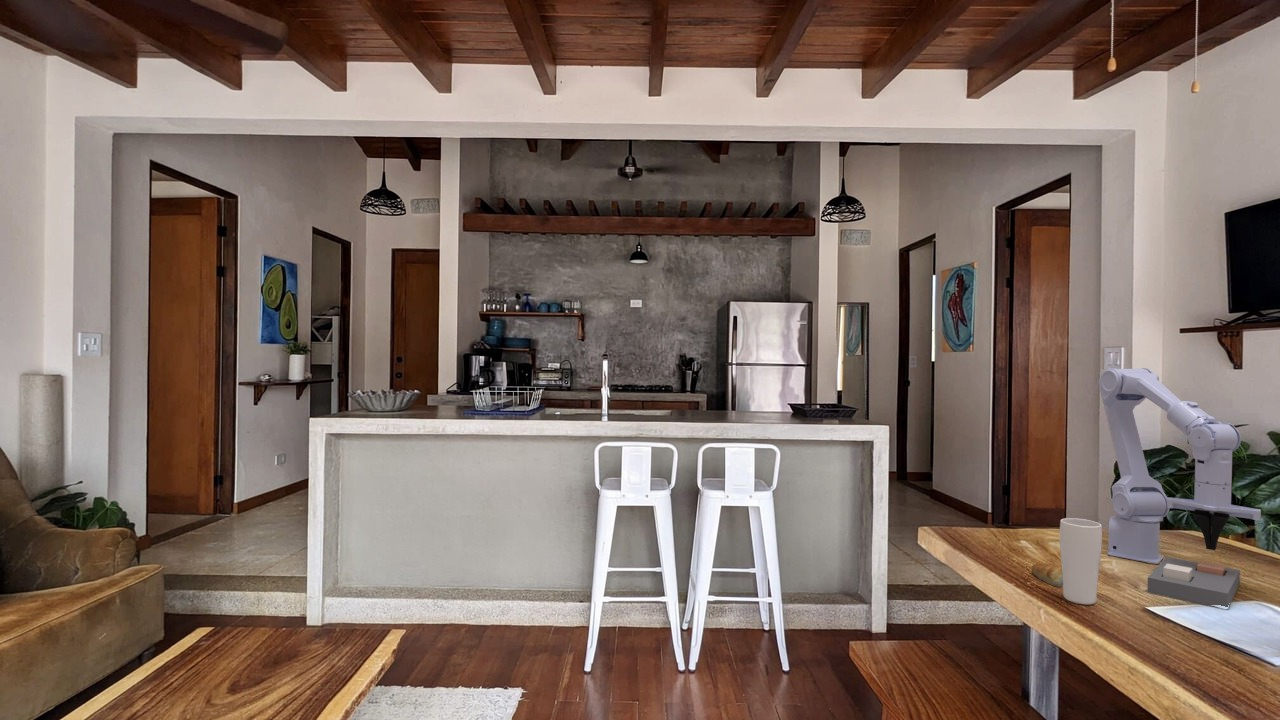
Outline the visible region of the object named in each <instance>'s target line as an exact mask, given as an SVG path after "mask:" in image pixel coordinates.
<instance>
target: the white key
mask: <svg viewBox="0 0 1280 720" xmlns="http://www.w3.org/2000/svg"><path fill="white" fill-rule="evenodd" d="M1163 577H1166V578H1171V579H1176V580H1181V581H1186V582H1191V581H1192V568H1189V567H1183V566H1178V565H1173V564H1166V565H1165V567H1164V568H1163Z"/></svg>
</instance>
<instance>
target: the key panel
mask: <svg viewBox="0 0 1280 720" xmlns="http://www.w3.org/2000/svg"><path fill="white" fill-rule="evenodd" d="M1199 562H1200V561H1198V562H1197V561H1193V560H1186V559H1182V558H1176V557H1169V556H1166V557H1165V558H1163V559H1162V560H1161V561H1160V562H1159V563H1160V564H1159V563H1158V565H1157V566H1156V568H1155V569H1154V570H1153V571H1152V572H1150V574H1149V575H1148V577H1147V588H1146V589H1147V590H1146V591H1147V594H1148V593H1149V594H1153V595H1157V596H1162V597H1165V598H1166V597H1167V598H1170V599H1176V600H1181V601H1185V602H1189V603H1194V604H1198V605H1203V606H1208V605H1221V606H1225V607H1228V605H1229V603H1232V602H1233V599H1234V597H1235V595H1236V592H1237V591H1238V589H1239V586H1240V581H1241V569H1238V568H1237V569H1236V568H1233V567H1232V568H1231V567H1226V566H1225V576H1222V575H1217V574H1212V573H1206V572H1201V571H1197V565H1198V564H1199ZM1166 564H1173V565H1178V566H1183V567H1189V568H1192V581H1191V582H1186V581H1181V580H1176V579H1171V578H1166V577H1163V568H1164V567H1165V565H1166Z"/></svg>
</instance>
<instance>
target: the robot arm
mask: <svg viewBox="0 0 1280 720" xmlns="http://www.w3.org/2000/svg"><path fill="white" fill-rule="evenodd" d="M1097 383H1098V387H1099V392H1100V395H1101V401H1102V404H1103V408H1104V411H1105V416H1106V420H1107V425H1108V430H1109V432H1110V437H1111V440H1112V441H1111V442H1112V445H1113V449H1114V454H1115V458H1116V462H1117V466H1118V470H1119V475H1120V478H1119V479H1118V481H1116V482H1115V483H1114V484H1112V485H1111V491H1112V500H1111V505H1112V507H1113V508H1112V509H1113V510H1114V511H1115V513H1116V515H1111V516H1110V518H1109V522H1108V536H1107V537H1108V543H1107V546H1108V547H1107V548H1108V549H1107V555H1108V556H1112V557H1116V558H1122V559H1129V560H1131V561H1132V560H1133V561H1139V562H1143V563H1149V564H1154V565H1159V563H1161V562H1162V561H1163V560H1164V559H1165V558H1164V557H1165V556H1164V555H1163V554H1160V535H1161V534H1160V533H1161V532H1160V530H1161V529H1160V525H1161V524H1160V523H1161V522H1164V518H1165V517H1166V516H1168V514H1169V512H1170V509H1177V510H1178V509H1179V510H1185V511H1186V510H1187V511H1193V512H1194V514H1193V517H1194V519H1195V521H1196V523H1197V524H1198V526H1199V528H1200V530H1201V533H1202V536H1203V539H1204V542H1205V548H1206V550H1212V551H1216V549H1217V545H1218V541H1219V539H1220V535H1221V534H1222V531H1223V529H1224V528H1225V526H1226V524H1227V523H1228V521H1229V519H1230V518H1231V517H1235V518H1244V519H1247V520H1248V519H1250V520H1254V521H1261V515H1262V509H1259V508H1253V507H1247V506H1240V505H1236V504H1235V505H1234V504H1232V484H1233V483H1232V481H1233V480H1232V477H1233V475H1232V474H1233V452H1235V451H1236V450H1237V449H1239V447H1240V445H1241V442H1242V437H1241V434H1240V431H1239V430H1238V428H1237V427H1235V426H1234V424H1232V423H1228V422H1221V421H1217V419H1216V418H1215V417H1214V416H1212V415H1209V414H1208V413H1207V412H1206V411H1204V410H1203V409H1201V408H1200V407H1199V406H1200V404H1198V403H1197V402H1196V401H1188V400H1184V401H1182V400H1181V399H1179V398H1178V397H1177V396H1176V394H1174V393H1173V392H1172V391H1170V390H1169V389H1168V388H1167V387H1166V386H1165V385H1164V384H1163V383H1162V382H1160V377H1159V374H1157V373H1154V372H1153V370H1151V369H1150V368H1147V367H1145V368H1144V367H1142V368H1114V367H1108V368H1106V369H1105V370H1104V371H1103V372H1102V373H1101V375H1100V377H1099V379H1098V382H1097ZM1146 399H1147V400H1149V401H1150V402H1152V403H1153V404H1155V405H1156V406H1157V407H1158V408H1160V409H1162V410H1164V411H1165V412H1166V418H1167V420H1168V422H1170V423H1171V424H1172V425H1173V426H1175V427H1176V428H1177V429H1179V430H1180V431H1181V432H1182V433H1183V434H1184V435H1186V436H1187V441H1188V444H1189V446H1190V447H1191V450H1192V452H1191V453H1192V457H1193V459H1194V460H1195V461H1194V462H1195V463H1194V467H1195V468H1194V495H1193V496H1194V498H1193V499H1189V498H1188V499H1187V498H1180V497H1179V498H1178V497H1171V496H1170V497H1168V496H1167V495H1166V494H1165V492H1164V489H1163V487H1162V486H1163V485H1162V484H1161V483H1160V482H1159V481H1157V480H1156V479H1154V478H1153V477H1151V476H1150V473H1149V470H1148V466H1147V462H1146V459H1145V454H1144V451H1143V450H1144V449H1143V447H1142V442H1141V439H1140V434H1139V430H1138V427H1137V423H1136V419H1135V414H1134V409H1135V408H1136V406H1139V405H1140V404H1141V403H1142V402H1143V401H1145V400H1146Z"/></svg>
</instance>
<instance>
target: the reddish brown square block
mask: <svg viewBox="0 0 1280 720" xmlns="http://www.w3.org/2000/svg"><path fill="white" fill-rule="evenodd" d="M1198 562H1199V564H1198V565H1197V571H1201V572H1206V573H1212V574H1217V575H1222V576H1225V567H1226V565H1223V564H1216V563H1210V562H1204V561H1198Z"/></svg>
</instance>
